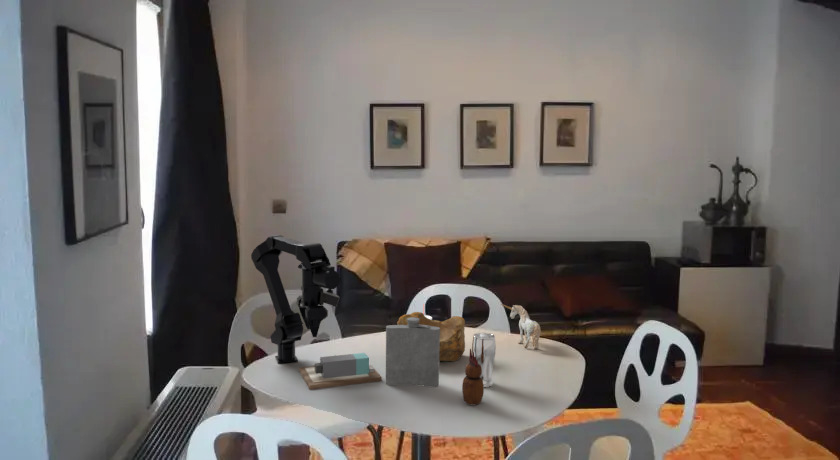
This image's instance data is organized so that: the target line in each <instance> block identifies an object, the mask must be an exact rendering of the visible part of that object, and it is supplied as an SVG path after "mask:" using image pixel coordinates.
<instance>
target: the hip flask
mask: <svg viewBox="0 0 840 460" xmlns="http://www.w3.org/2000/svg"><path fill="white" fill-rule="evenodd" d="M407 322H408V325H398V324H392V325H391V324H389V325H386V326H385V385H388V386H417V385H424V386H423V387H429V386H437V387H438V385H439V383H440V361H439V346H440V328H439V327H434V326H428V325H419V323H418V322H419V318H414V317H412V318H408V319H407ZM439 386H440V385H439Z"/></svg>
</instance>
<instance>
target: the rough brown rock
mask: <svg viewBox="0 0 840 460" xmlns="http://www.w3.org/2000/svg"><path fill="white" fill-rule="evenodd" d="M424 315H425V313H424V314H423V312H421V311H420V312H419V311H413V312H411V313H410V314H409V313H405V314H403V315H401V316H400V317H399V318H398V321H397V324H396V325H408V322H407V319H408V318H412V317H414V318H419V322H418V323H419V325H428V326H434V327H439V328H440V346H439V362H440V361H445V362H447V361H448V362H458V360H459V359H460V358H461V357H462V356H463V355H464V353H465V348H466V340H465V338H466V337H465V336H466V335H465V329H466V328H465V326H466V321H465V319H464V317H461V316H457V315H456V316H455V315H454V316H452V317H450V318H448V319H446V320H443V321H440V320H437V319H436V320H435V319H432V320H430V319H428V318H426V317H425V316H424Z"/></svg>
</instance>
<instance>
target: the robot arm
mask: <svg viewBox="0 0 840 460" xmlns="http://www.w3.org/2000/svg"><path fill="white" fill-rule="evenodd" d="M283 253H287V254H290V255H292V256H295V259H296V260H297V261H298V262H300V264H299V265H297V268H298V269H301V283H302V284H301V285H302V286H300V290H301V294H302V295H298V296H297V297H296V305H297V308H298V311H299V312H294V310H292V308H291V305H290V302H289V299H288V297H287V293H286V290H285V288H284V284H283V282H282V279H281V275H280V272H279V270H278V269H279V265H280V256H281V254H283ZM250 256H251V261H252V262H253V265H254V267H255V269H256V270H257V271H258V272H259V273H260V274H262V275H263V278H264V280H265V284H266V287H267V291H268V293H269V296H270V298H271V302H272V305H273V308H274V311H275V314H276V317H275V320H274V327H275V330H274V331H273V332H272V333H271V335H270V340H271V341H270V342H271V344H275V345H277V347H276V348H277V350H276V351H277V355H275V360H276V362H277V364H284V363H285V364H286V363H294V362H295V363H296V362H298V361H299V359H298V357H297V356H296V342H298V341H302V337H303V332H304V324H305V327H306V330H309V331H310V332H311V335H312V336H311V337H312V338H317V337H318V334H319V329H320V327H321V323H322V321H323V320H325V319H327V318H328V315H329V314H328V312H329V311H328V309H327V308H326V307H325V306H324V304H327V305H330V306H332V307H335V308H336V307H337V306H338V304H339V300H340V296H339V295H337V294H336V293H334V290H335V289H336V288H338V286H339V284H340V282H341V276H340V275H339V272H337V270H335V269H336V268H335V266H332V265H331V262H330V259H329V257H328V255H327V253H326V251H325V249H324V246H323V245H322V244H321V243H318V242H302V241H298V240H296V239H292V238H289V237H286V236H284V235H281V234H278V235H270V236H268V237H267V238H266V239H265V240H264V241H263V242H261V243H260V244H259V245H257V246H256V247H255V248H253V250H252V252H251V254H250ZM323 288H324V289H323ZM301 317H302V318H301ZM302 320H303V321H302ZM303 322H304V323H303Z"/></svg>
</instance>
